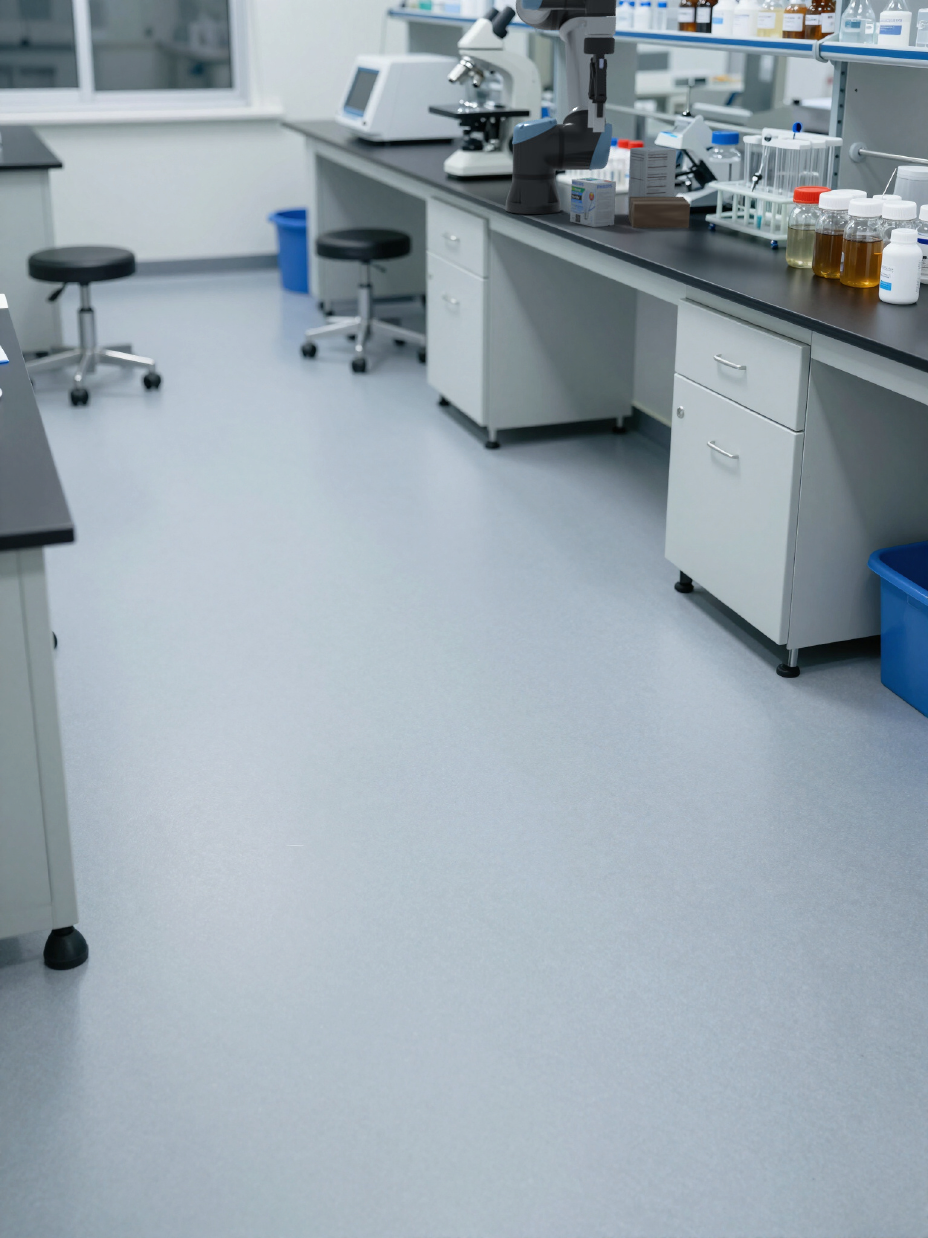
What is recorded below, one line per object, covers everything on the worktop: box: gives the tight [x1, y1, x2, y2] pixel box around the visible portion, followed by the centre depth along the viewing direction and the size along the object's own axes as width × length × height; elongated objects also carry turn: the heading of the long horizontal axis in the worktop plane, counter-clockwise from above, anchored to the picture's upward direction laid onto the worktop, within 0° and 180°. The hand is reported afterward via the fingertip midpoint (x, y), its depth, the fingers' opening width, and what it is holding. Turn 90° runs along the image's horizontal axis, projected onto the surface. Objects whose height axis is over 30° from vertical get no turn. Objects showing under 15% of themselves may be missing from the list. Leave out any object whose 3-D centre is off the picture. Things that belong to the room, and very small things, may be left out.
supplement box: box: [626, 146, 677, 214], centre depth 337 cm, size 10×9×17 cm
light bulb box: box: [569, 177, 617, 228], centre depth 325 cm, size 11×7×11 cm, turn 33°
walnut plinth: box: [627, 196, 691, 229], centre depth 326 cm, size 14×14×6 cm
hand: (595, 129), depth 317 cm, fingers open, 13 cm apart
